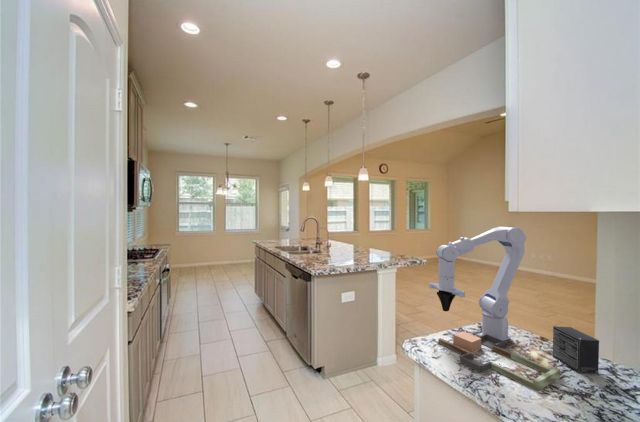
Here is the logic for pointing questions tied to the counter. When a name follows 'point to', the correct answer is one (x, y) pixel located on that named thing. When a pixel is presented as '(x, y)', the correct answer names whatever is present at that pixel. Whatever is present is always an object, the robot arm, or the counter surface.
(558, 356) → the small box
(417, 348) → the counter surface
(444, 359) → the counter surface
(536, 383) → the lane
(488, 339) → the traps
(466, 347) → the block
